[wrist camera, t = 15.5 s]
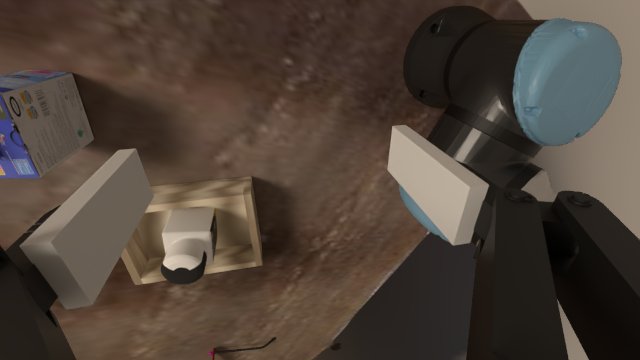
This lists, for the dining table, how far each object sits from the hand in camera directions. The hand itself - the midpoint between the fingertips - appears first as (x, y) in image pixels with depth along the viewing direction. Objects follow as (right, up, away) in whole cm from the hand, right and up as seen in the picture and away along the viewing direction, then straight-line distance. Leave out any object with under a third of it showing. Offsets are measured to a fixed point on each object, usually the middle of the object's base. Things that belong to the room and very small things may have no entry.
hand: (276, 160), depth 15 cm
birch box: (-21, -9, +37) cm, 44 cm away
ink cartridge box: (-34, +9, +24) cm, 43 cm away
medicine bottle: (-20, -9, +37) cm, 43 cm away
